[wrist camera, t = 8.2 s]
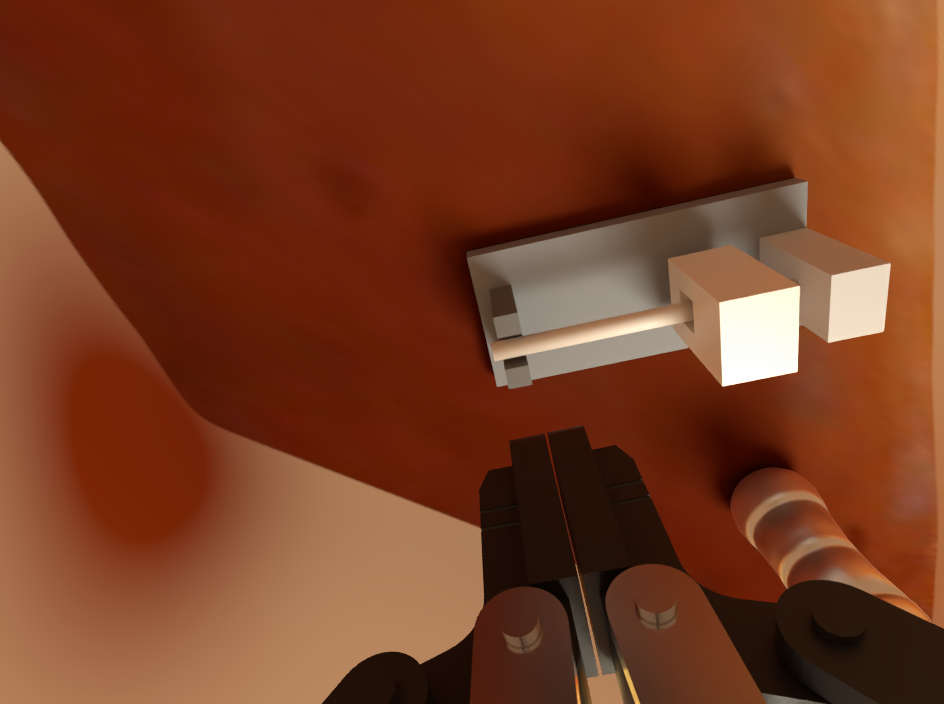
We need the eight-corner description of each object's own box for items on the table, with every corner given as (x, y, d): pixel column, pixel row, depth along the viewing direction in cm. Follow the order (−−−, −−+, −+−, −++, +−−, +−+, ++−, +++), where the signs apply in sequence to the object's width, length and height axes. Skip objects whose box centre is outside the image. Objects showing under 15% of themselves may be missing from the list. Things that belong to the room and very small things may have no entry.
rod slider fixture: (466, 251, 38) (467, 299, 30) (794, 177, 37) (896, 206, 28) (496, 377, 43) (504, 450, 34) (791, 316, 41) (879, 378, 32)
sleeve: (667, 258, 36) (719, 302, 29) (731, 244, 35) (799, 285, 28) (673, 329, 38) (722, 386, 31) (733, 316, 38) (797, 371, 30)
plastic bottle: (705, 492, 48) (852, 740, 30) (771, 442, 46) (972, 676, 28) (751, 530, 50) (916, 784, 32) (816, 483, 48) (1033, 728, 29)
